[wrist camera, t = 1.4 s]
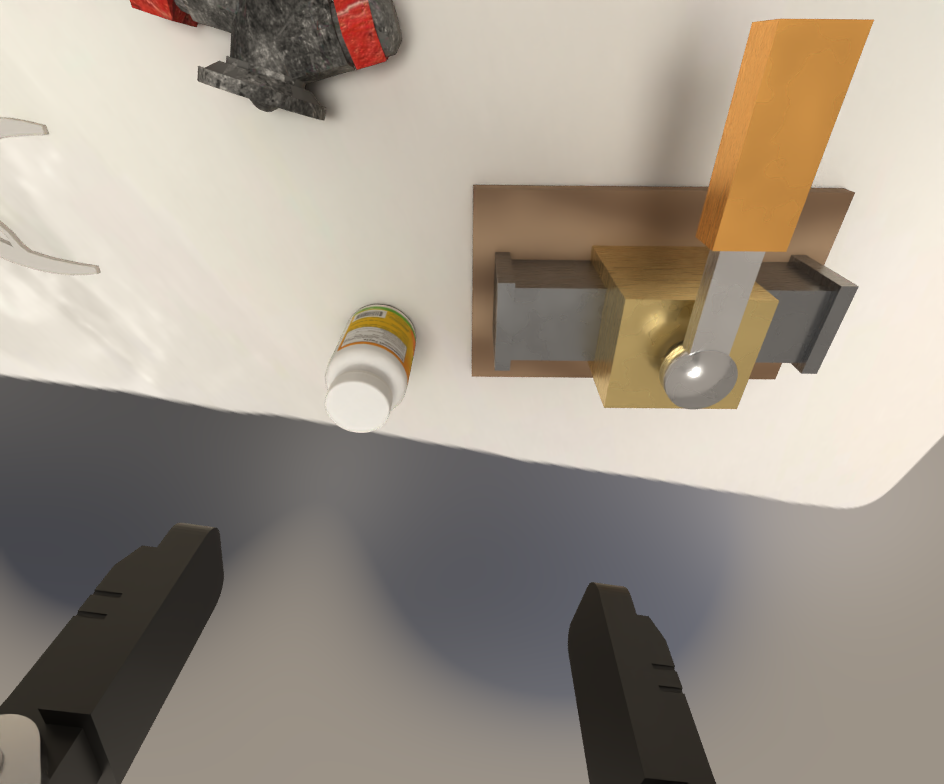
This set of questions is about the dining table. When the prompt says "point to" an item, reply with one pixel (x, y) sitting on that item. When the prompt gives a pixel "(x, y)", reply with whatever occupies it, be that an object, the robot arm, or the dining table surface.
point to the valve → (287, 44)
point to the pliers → (14, 247)
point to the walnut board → (606, 243)
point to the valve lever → (760, 184)
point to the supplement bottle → (370, 368)
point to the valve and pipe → (656, 316)
